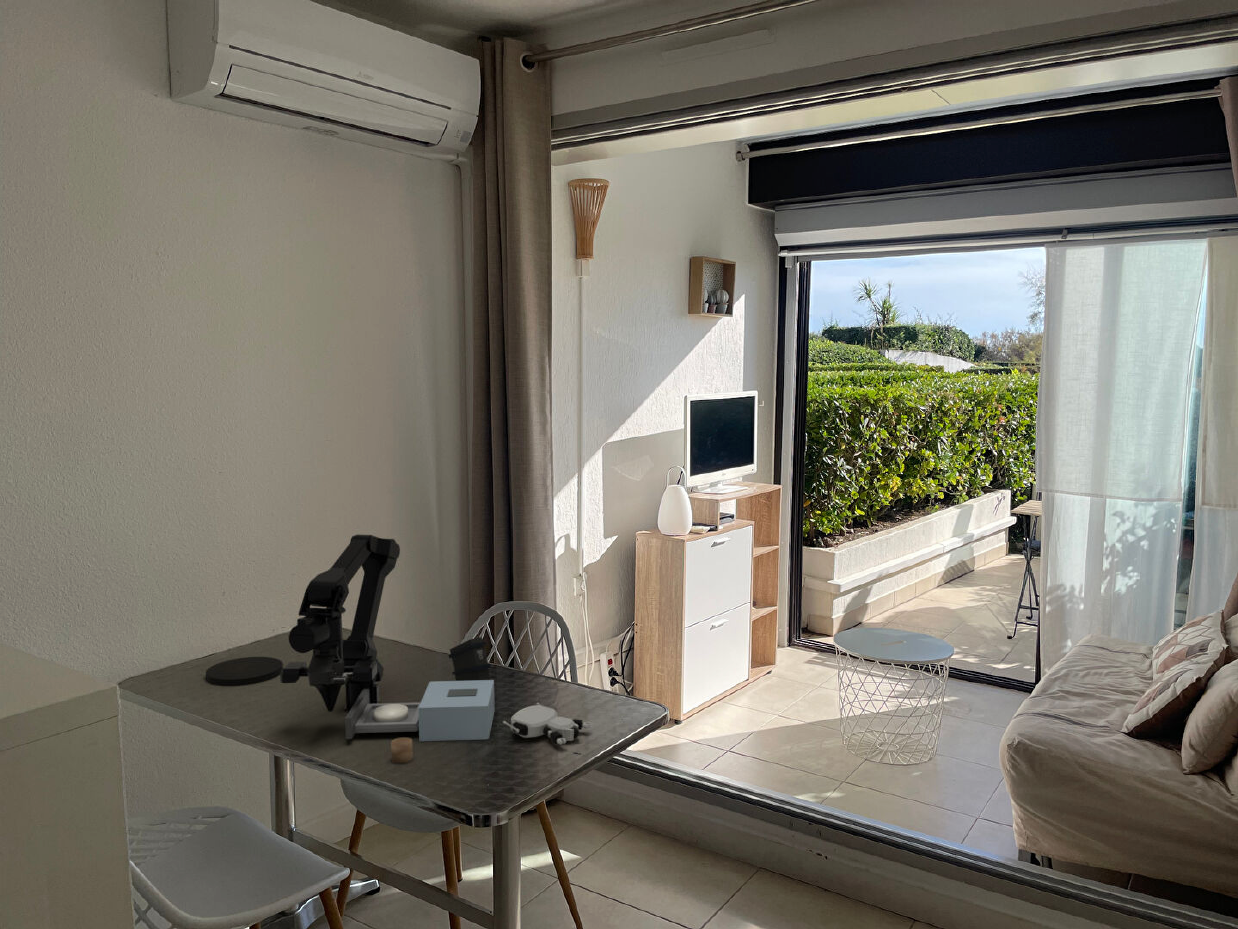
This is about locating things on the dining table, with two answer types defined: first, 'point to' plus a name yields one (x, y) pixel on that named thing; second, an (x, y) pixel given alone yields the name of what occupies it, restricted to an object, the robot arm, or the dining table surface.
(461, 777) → the dining table surface
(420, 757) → the dining table surface
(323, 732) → the dining table surface
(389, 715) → the cream disc
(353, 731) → the tray
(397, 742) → the tan short cylinder
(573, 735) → the robot toy
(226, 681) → the wireless charger
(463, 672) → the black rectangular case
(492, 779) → the dining table surface
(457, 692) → the box
